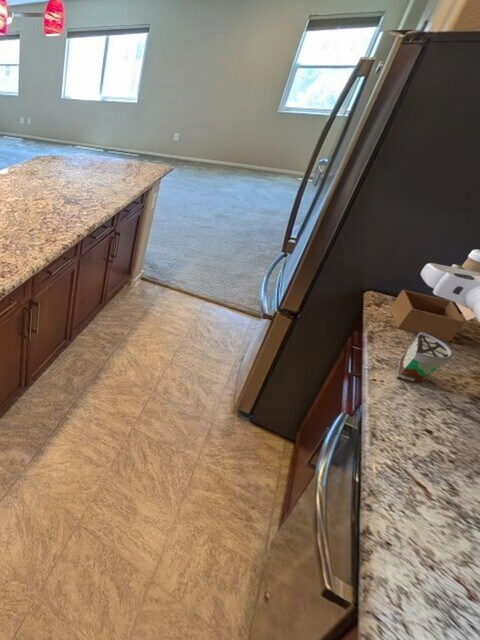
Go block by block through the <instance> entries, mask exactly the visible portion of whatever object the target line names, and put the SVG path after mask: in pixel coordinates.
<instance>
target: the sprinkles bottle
mask: <svg viewBox="0 0 480 640" xmlns="http://www.w3.org/2000/svg"><path fill="white" fill-rule="evenodd" d="M461 266H462V267H463V269H464V270H469V271H474V272H480V249H472V250H471V252H470V253H469V254H468V256H467V258H466V260H465V261H464V263H463V264H462V265H461Z"/></svg>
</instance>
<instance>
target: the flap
mask: <svg viewBox="0 0 480 640" xmlns="http://www.w3.org/2000/svg"><path fill="white" fill-rule="evenodd" d="M454 303H455V304H456V306H457V308H458V309H459V311H460V312H461V314H462V316H463V318H465V320H466V321H467V322H469V321H472V320H476V318H475V316H474V314H473V312H472V311H471V310H470V309H469V308H466V307H464V306H462V305H460V304H458V303H456V302H454Z"/></svg>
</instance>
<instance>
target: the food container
mask: <svg viewBox="0 0 480 640" xmlns="http://www.w3.org/2000/svg"><path fill="white" fill-rule="evenodd" d="M451 359H452V350H451V348H450V347H449V346H448V345H446V344H445V343H444V342H443V341H442V340H440V339H436V338H434V337H432V336H430V335H428V334H426V333H423V332H420V333H419V334H418V333H417V335H416V337H415V338H414V340H413V341H412V342H411V344H410V345H409V347H408V348H407V349H406V351H405V352H404V353H403V355H401V357H400V359H399V361H398V367H397V373H396V380H397V379H398V380H400V381H403V382H407V383H410V384H422V383H423V382H424V381H425V380H427V379H428V377H430V375H432V374H433V373H434V372H435V371H436V370H437V369H439V367H440V366H446V365H448V364H449V363H450V362H451Z"/></svg>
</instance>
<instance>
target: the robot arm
mask: <svg viewBox="0 0 480 640" xmlns="http://www.w3.org/2000/svg"><path fill="white" fill-rule="evenodd" d="M420 277H421V278H422V280H423V282H424V283H425V284H426V285H427V286H428V287H429V288H431V289H433V290H432V293H433V295H434V296H435V297H438V298H441V299H445V300H449V301H452V302H453V303H455V302H456V303H458V304H460V305H462V306H464V307H466V308H469V309H470V310H471V311H472V312H473V314H474V316H475V320H477V322H478V323H479V324H480V272H474V271H469V270H464V269H463V267H462V265H461V264H455V263H453V264H451V266H449V265H443V264H438V263H433V262H429V263H426V264H425V265H424V267H423V268H422V270H421V271H420ZM456 303H455V304H456Z"/></svg>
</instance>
